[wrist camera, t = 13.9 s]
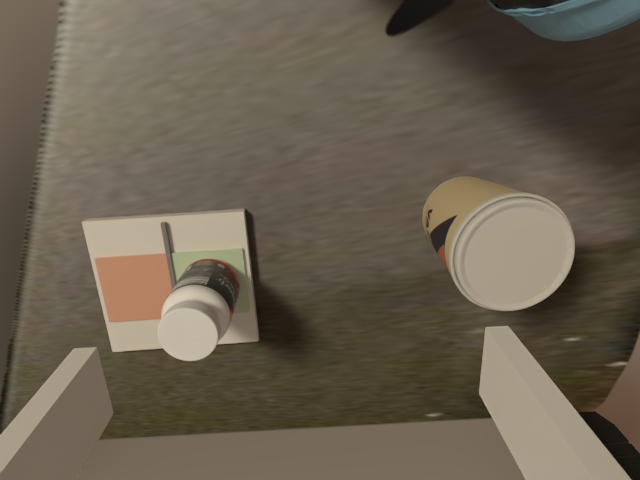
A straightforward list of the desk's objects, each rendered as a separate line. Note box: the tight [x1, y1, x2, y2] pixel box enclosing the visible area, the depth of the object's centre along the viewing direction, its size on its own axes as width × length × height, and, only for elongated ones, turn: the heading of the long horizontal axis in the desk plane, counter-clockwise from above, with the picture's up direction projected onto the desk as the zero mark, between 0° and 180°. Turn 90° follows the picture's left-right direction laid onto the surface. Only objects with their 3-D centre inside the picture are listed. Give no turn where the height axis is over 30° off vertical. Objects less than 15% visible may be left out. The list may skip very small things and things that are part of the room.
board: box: [82, 209, 259, 352], centre depth 44 cm, size 14×15×2 cm
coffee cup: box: [422, 176, 575, 311], centre depth 38 cm, size 9×9×12 cm
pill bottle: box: [158, 258, 240, 361], centre depth 39 cm, size 6×6×10 cm
